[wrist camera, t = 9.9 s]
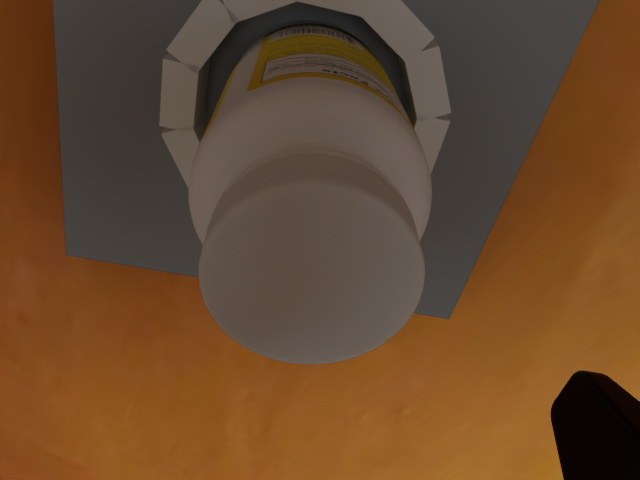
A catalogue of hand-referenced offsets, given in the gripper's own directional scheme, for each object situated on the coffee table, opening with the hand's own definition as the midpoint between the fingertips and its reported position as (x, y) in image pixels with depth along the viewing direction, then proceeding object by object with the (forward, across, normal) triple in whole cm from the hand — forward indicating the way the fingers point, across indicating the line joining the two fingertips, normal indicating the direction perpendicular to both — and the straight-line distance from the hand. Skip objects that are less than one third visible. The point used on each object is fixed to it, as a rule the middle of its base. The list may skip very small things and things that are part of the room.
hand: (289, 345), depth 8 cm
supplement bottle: (+12, 0, 0) cm, 12 cm away
